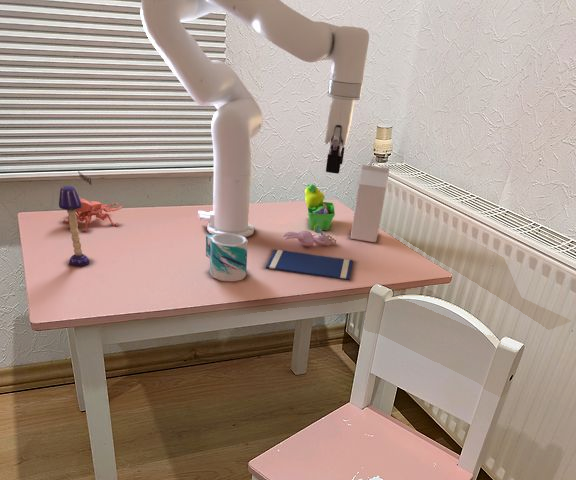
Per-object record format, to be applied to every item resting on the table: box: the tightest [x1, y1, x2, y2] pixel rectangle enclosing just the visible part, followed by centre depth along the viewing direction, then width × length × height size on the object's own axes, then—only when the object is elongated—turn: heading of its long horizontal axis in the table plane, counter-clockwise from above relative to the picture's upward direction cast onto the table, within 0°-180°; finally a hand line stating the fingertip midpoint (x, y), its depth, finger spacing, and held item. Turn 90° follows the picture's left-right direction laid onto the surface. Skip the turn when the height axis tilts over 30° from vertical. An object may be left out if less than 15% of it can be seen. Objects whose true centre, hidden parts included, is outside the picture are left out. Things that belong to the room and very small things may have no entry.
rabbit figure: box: [282, 225, 337, 247], centre depth 150 cm, size 6×6×15 cm
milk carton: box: [350, 164, 390, 243], centre depth 156 cm, size 7×7×19 cm
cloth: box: [265, 248, 354, 281], centre depth 141 cm, size 20×12×1 cm, turn 81°
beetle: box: [62, 170, 123, 233], centre depth 149 cm, size 15×12×13 cm
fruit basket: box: [304, 183, 336, 231], centre depth 163 cm, size 11×9×11 cm
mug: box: [205, 233, 249, 282], centre depth 131 cm, size 8×12×8 cm
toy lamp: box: [58, 185, 90, 267], centre depth 126 cm, size 5×5×17 cm
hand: (334, 167), depth 141 cm, fingers open, 9 cm apart
